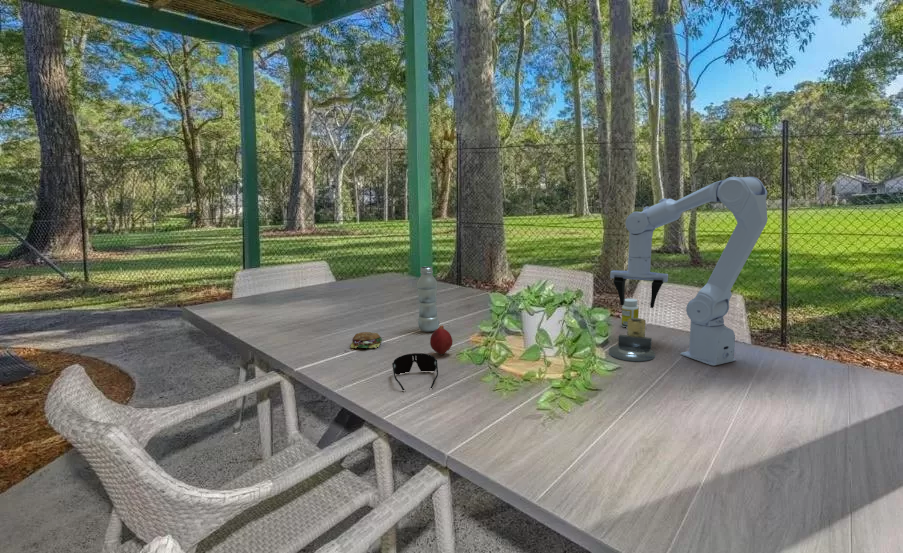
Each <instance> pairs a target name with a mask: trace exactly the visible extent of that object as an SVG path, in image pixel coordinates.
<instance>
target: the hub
mask: <svg viewBox="0 0 903 553" xmlns="http://www.w3.org/2000/svg"><path fill="white" fill-rule="evenodd" d="M646 323H647V322H646V319H644V318H639V317H638V318H630V319H628V326H627V328H626V329H627V332H626V335H629V336H638V337H646Z"/></svg>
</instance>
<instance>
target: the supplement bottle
mask: <svg viewBox="0 0 903 553" xmlns="http://www.w3.org/2000/svg"><path fill="white" fill-rule="evenodd" d="M621 306H622V307H621V327H623V328H624V327H626V329H627V326H628V319H630V318H639V313H640V312H639V311H640V310H639V306H638V299H637V298H625V302H624V305H621Z"/></svg>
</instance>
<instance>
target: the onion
mask: <svg viewBox="0 0 903 553" xmlns="http://www.w3.org/2000/svg"><path fill="white" fill-rule="evenodd" d="M444 327H445V326H444V325H443V324H442V325H441V324H440V325H439V326H438V328H437V330H435V331H432V333H431V336H430V338H429V339H430V341H429V344H430V347H431V349H432V350H433V351H435V352H436V353H438V354H439V355H441V354H443V355H445V354H446V353H447V351H449V350H450V349H451V347H452V346H453V337H452V334H451V333H450V332H449V331H448V330H447V329H445V328H444Z"/></svg>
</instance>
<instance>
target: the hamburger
mask: <svg viewBox="0 0 903 553" xmlns="http://www.w3.org/2000/svg"><path fill="white" fill-rule="evenodd" d="M351 341H352V342H351V344H350V349H351V348H355V349H357V347H358V349H361V348H366V349H373V348H375V349H376V348H377V347H378V348H379V347H380V345H381V342H383V339H382V336H381V335H380V334H379V333H378V332H370V331H363V332H359V333H356V334H355V335H353V337H352V340H351Z"/></svg>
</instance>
